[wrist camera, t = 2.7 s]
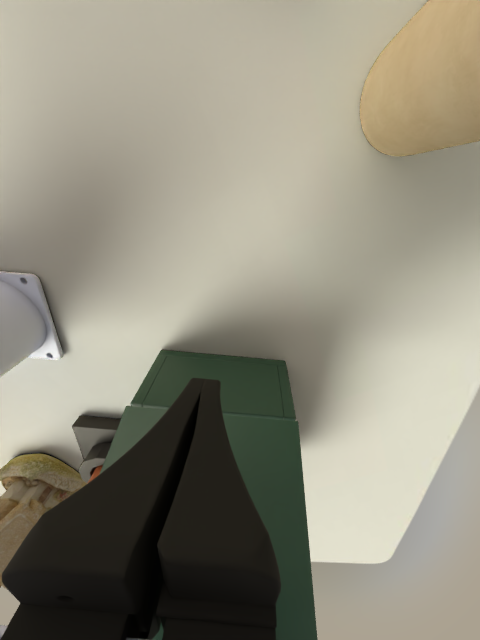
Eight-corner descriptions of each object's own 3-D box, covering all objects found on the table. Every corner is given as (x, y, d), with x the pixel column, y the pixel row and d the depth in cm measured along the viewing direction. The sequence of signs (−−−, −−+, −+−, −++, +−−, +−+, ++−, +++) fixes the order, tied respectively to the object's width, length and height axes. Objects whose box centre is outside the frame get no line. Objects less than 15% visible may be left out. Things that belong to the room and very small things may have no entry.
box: (266, 456, 29) (269, 521, 23) (169, 447, 29) (149, 510, 23) (285, 360, 22) (296, 418, 17) (160, 349, 22) (130, 403, 17)
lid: (340, 969, 7) (349, 1002, 6) (-67, 924, 7) (-91, 954, 6) (296, 425, 17) (298, 421, 16) (129, 410, 17) (126, 405, 16)
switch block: (98, 473, 32) (83, 501, 29) (80, 415, 27) (59, 441, 24) (161, 479, 32) (152, 507, 29) (154, 421, 27) (142, 449, 24)
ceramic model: (118, 508, 36) (74, 614, 27) (53, 516, 38) (-8, 617, 29) (58, 446, 30) (-25, 556, 21) (-15, 459, 32) (-120, 565, 23)
